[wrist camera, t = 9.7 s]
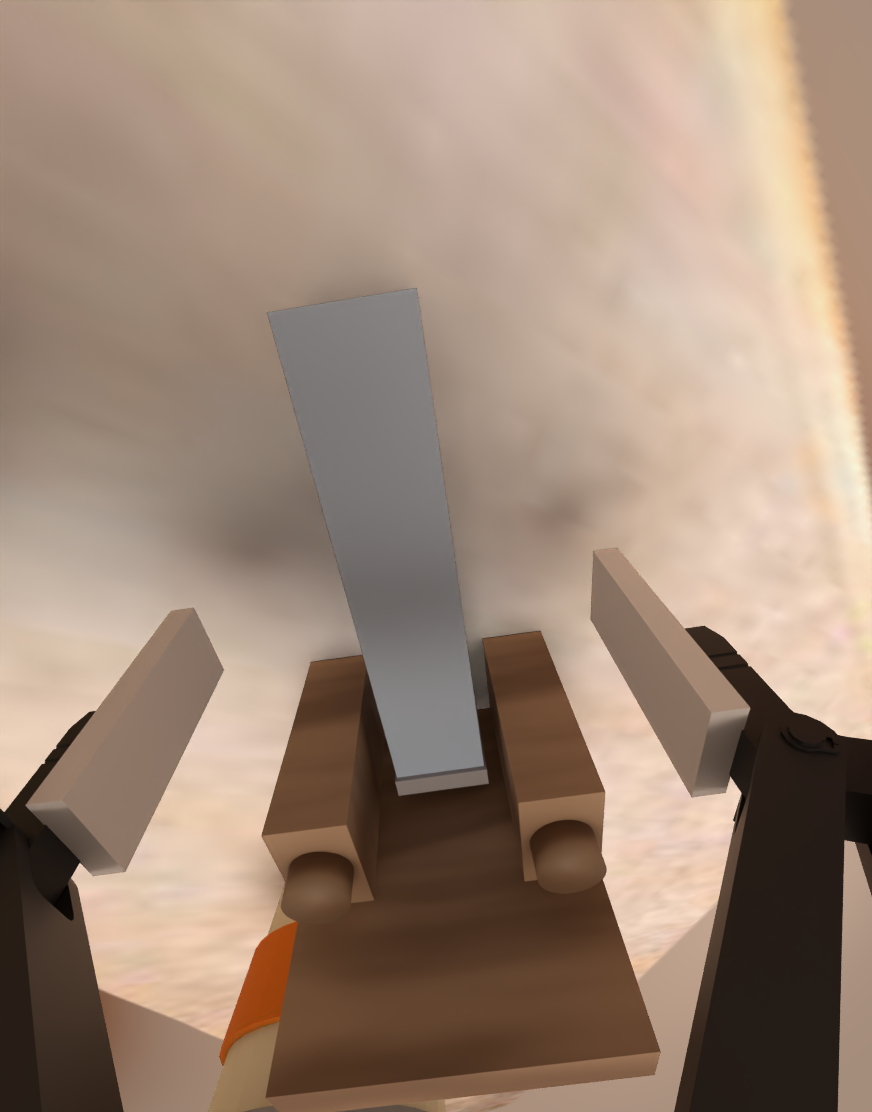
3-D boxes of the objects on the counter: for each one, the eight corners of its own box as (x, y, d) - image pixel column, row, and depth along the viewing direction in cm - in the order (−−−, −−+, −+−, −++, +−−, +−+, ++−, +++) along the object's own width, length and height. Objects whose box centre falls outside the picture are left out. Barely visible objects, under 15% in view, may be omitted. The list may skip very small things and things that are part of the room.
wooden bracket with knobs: (310, 662, 24) (205, 1034, 12) (540, 631, 24) (679, 977, 11) (341, 752, 27) (284, 1117, 15) (543, 726, 27) (654, 1074, 15)
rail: (302, 312, 17) (260, 313, 12) (417, 293, 16) (420, 287, 12) (400, 710, 26) (398, 795, 21) (475, 699, 26) (488, 783, 21)
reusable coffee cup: (313, 797, 29) (231, 1201, 16) (475, 852, 33) (518, 1219, 20) (236, 892, 34) (123, 1267, 21) (385, 932, 37) (371, 1272, 24)
